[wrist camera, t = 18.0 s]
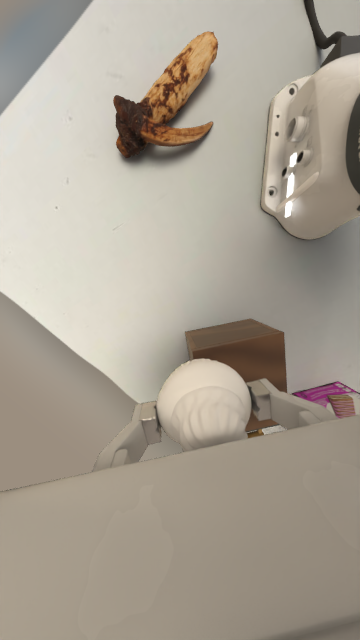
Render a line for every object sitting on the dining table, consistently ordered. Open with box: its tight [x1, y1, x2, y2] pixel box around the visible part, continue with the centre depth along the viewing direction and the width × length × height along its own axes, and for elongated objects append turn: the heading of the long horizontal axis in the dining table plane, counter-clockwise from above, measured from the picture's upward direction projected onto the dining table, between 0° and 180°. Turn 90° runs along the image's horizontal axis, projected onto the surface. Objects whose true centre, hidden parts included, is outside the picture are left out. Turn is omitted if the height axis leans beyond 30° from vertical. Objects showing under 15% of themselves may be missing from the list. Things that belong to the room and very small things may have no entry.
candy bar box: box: [292, 382, 360, 419], centre depth 30 cm, size 11×5×16 cm, turn 103°
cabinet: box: [185, 319, 287, 432], centre depth 30 cm, size 15×13×10 cm
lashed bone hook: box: [113, 32, 218, 158], centre depth 23 cm, size 9×5×18 cm
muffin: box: [156, 358, 252, 452], centre depth 11 cm, size 6×6×7 cm
